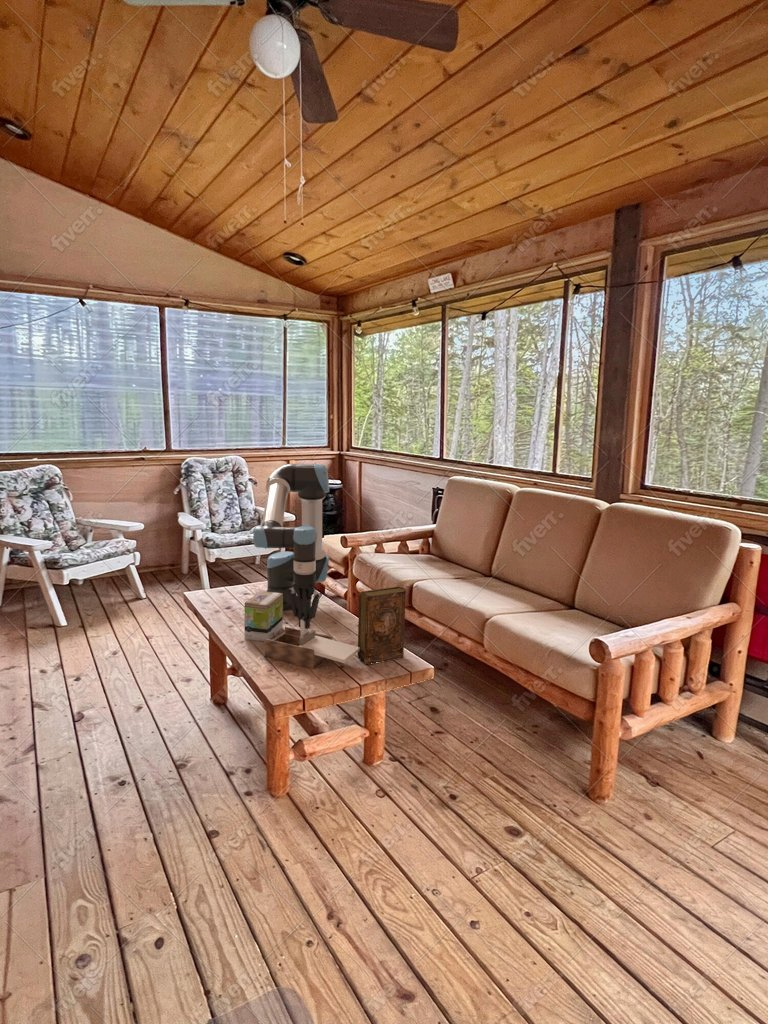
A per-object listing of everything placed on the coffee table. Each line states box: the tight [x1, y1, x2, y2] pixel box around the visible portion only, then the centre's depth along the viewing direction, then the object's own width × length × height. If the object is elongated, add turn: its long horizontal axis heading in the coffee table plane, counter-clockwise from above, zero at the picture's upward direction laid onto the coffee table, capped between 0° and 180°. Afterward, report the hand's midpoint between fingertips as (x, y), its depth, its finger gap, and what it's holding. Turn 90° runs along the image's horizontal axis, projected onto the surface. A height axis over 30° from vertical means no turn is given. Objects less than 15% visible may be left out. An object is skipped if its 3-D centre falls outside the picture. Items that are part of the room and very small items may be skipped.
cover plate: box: [299, 629, 360, 664], centre depth 201 cm, size 18×11×4 cm, turn 65°
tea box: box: [243, 590, 284, 642], centre depth 226 cm, size 15×10×15 cm, turn 168°
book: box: [357, 586, 407, 666], centre depth 205 cm, size 16×6×25 cm, turn 118°
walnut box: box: [263, 626, 334, 670], centre depth 207 cm, size 20×13×7 cm, turn 65°
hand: (304, 636), depth 205 cm, fingers closed
